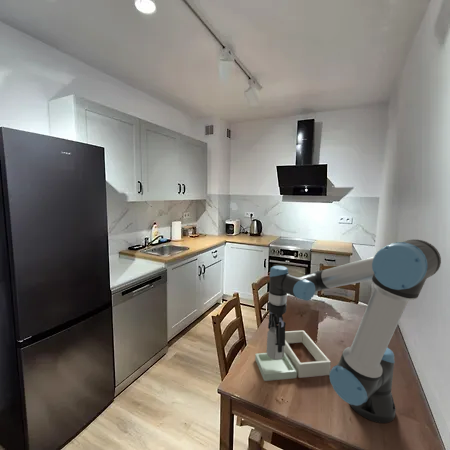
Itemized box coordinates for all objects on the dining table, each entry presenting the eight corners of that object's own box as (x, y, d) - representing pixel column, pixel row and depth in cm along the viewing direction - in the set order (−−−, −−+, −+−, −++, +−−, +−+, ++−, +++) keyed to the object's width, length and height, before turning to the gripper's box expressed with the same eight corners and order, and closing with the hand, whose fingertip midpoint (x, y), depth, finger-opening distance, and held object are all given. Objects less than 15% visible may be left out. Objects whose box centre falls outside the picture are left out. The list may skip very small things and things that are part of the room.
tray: (296, 378, 108) (296, 371, 108) (264, 381, 106) (264, 374, 106) (284, 357, 122) (284, 351, 122) (255, 359, 120) (255, 353, 120)
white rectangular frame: (329, 374, 111) (330, 361, 110) (298, 377, 108) (299, 364, 108) (303, 341, 136) (303, 330, 135) (277, 342, 134) (277, 331, 133)
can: (284, 362, 109) (285, 335, 108) (266, 359, 111) (267, 333, 109) (283, 351, 117) (285, 326, 115) (266, 349, 118) (267, 324, 117)
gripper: (295, 312, 101) (292, 366, 104) (277, 292, 121) (275, 338, 124) (277, 313, 100) (274, 368, 103) (262, 293, 120) (260, 339, 123)
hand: (275, 352), depth 113 cm, fingers closed on can, 7 cm apart
